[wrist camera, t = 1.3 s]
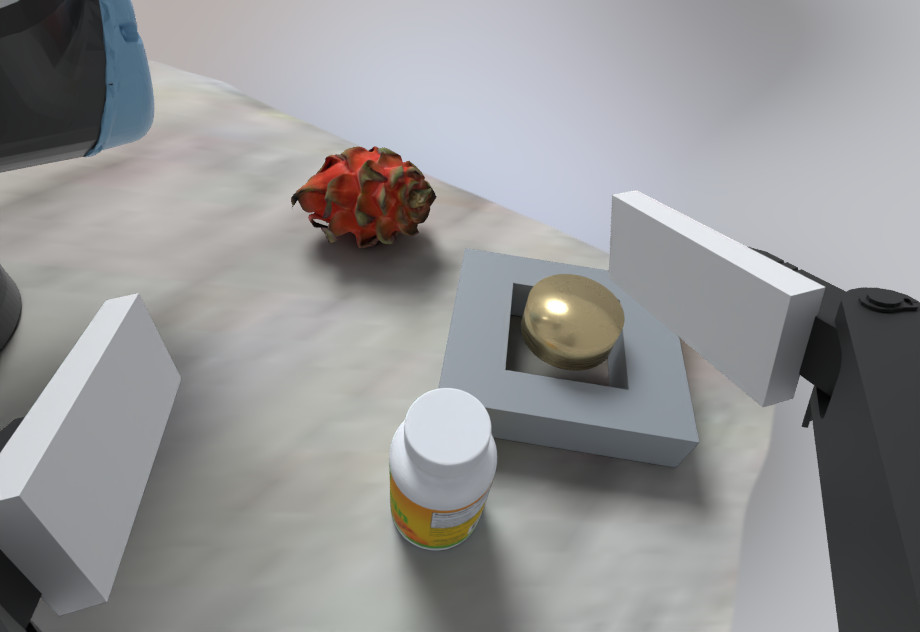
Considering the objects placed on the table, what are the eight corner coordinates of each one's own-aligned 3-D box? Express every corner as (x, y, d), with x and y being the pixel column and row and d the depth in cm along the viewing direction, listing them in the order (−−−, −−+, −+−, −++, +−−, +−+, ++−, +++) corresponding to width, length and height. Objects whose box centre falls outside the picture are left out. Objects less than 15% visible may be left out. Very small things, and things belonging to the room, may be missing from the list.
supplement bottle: (381, 474, 32) (377, 387, 24) (465, 453, 33) (484, 364, 26) (402, 565, 28) (403, 496, 21) (493, 537, 30) (525, 463, 23)
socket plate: (433, 427, 34) (436, 399, 31) (460, 279, 43) (464, 248, 41) (675, 467, 34) (699, 442, 31) (651, 309, 43) (668, 280, 40)
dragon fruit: (442, 254, 47) (312, 262, 48) (437, 164, 48) (309, 172, 48) (436, 232, 39) (278, 242, 39) (430, 122, 40) (274, 133, 40)
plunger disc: (518, 361, 34) (525, 338, 32) (523, 292, 38) (529, 267, 36) (615, 377, 34) (628, 354, 32) (609, 306, 38) (620, 281, 36)
